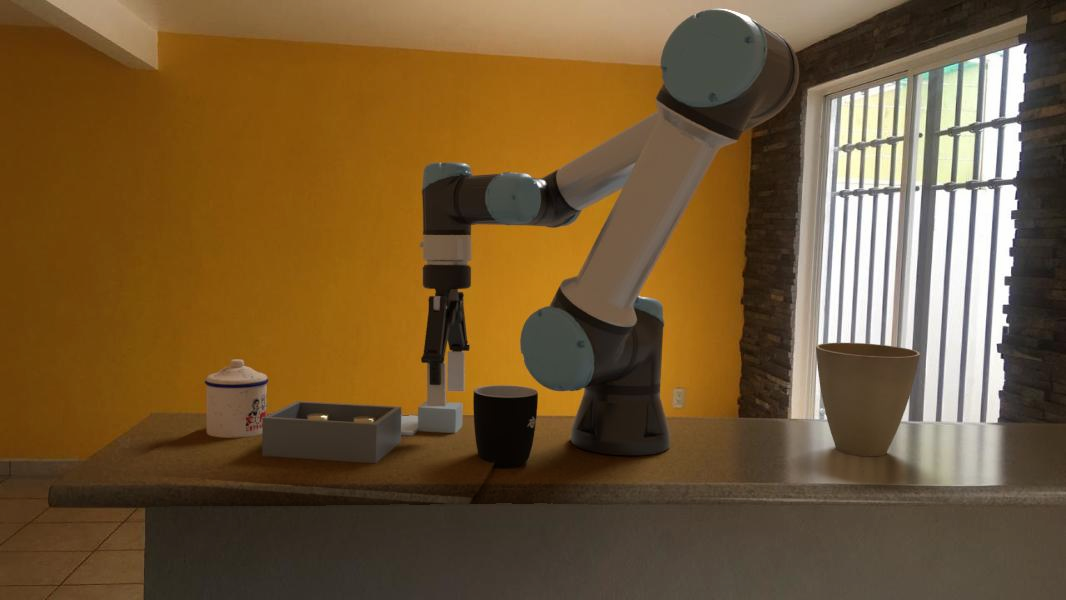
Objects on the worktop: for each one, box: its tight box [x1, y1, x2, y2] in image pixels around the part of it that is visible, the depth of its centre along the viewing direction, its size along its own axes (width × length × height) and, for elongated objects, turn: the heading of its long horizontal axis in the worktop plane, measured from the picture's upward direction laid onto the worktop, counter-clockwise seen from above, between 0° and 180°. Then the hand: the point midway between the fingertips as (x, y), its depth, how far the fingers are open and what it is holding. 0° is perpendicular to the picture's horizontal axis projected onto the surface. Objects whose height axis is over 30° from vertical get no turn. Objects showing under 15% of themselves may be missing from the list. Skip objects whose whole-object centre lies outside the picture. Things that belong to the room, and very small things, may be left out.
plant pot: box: [815, 342, 921, 457], centre depth 133 cm, size 15×15×16 cm
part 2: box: [354, 416, 375, 423], centre depth 125 cm, size 3×3×4 cm
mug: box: [472, 384, 539, 469], centre depth 122 cm, size 12×9×10 cm
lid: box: [401, 400, 464, 436], centre depth 138 cm, size 23×12×5 cm, turn 83°
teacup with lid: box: [204, 358, 269, 439], centre depth 133 cm, size 12×9×12 cm
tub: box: [261, 400, 402, 464], centre depth 123 cm, size 16×12×6 cm
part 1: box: [307, 413, 328, 420], centre depth 126 cm, size 3×3×4 cm
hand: (446, 398), depth 136 cm, fingers open, 13 cm apart
